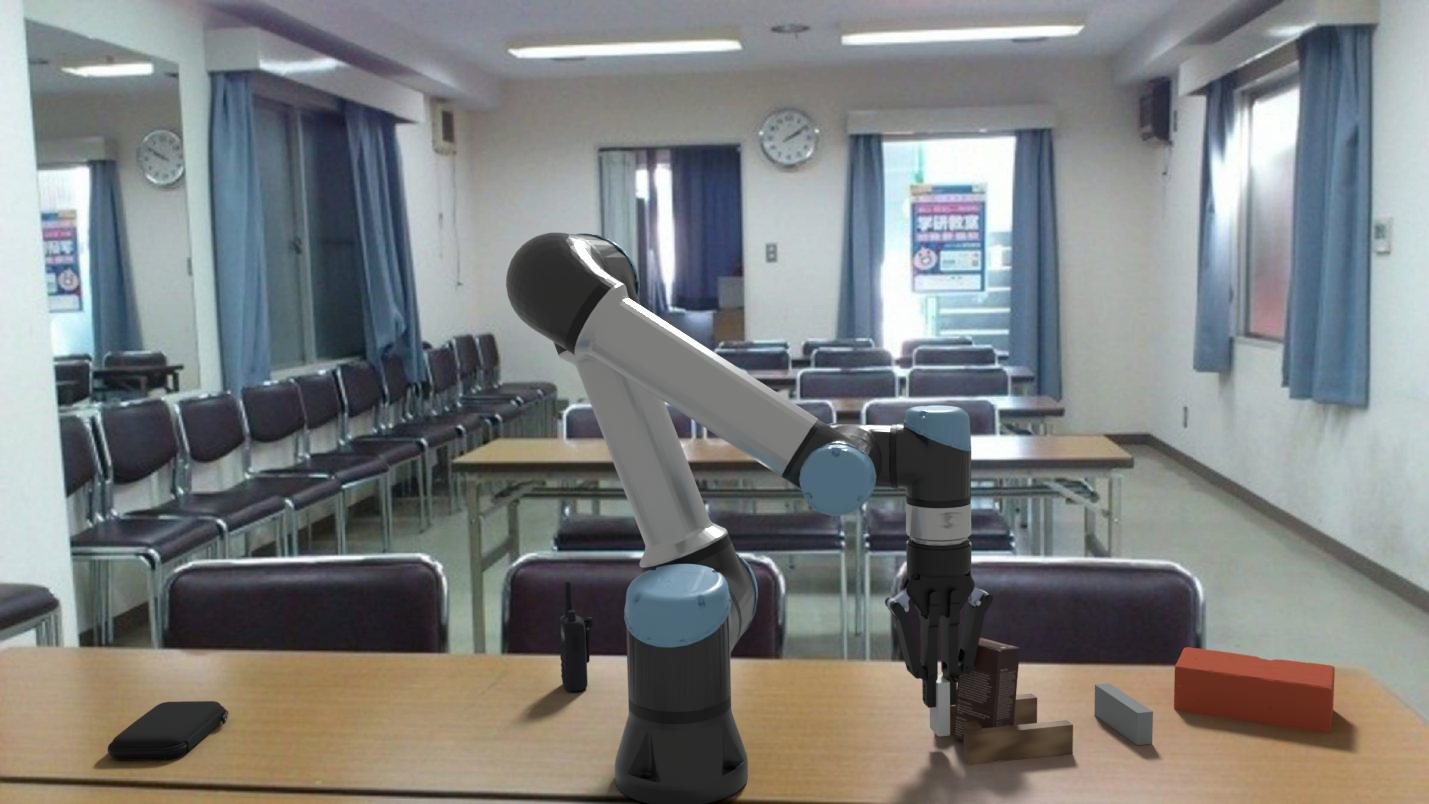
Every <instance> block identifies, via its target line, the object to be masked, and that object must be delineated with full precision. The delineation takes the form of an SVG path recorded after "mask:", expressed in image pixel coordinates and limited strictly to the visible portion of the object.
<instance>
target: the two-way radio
mask: <svg viewBox="0 0 1429 804" xmlns="http://www.w3.org/2000/svg"><path fill="white" fill-rule="evenodd" d="M564 610H565V611H564V614H563V615H562V616H560V618H559V630H560V631H559V633H560V644H559V647H560V649H559V650H560V662H561V663H560V671H561V673H560V675H561V682H562V685H563V687H564V688H565V690H566V691H568V692H570V691H574V692H581V690H582V691H583V690H585V689H586V688H588V681H589V680H588V663H590V661H591V660H590V657H591V656H590V655H591V654H590V638H591V637H590V636H591V631H592V627H593V626H594V621H593V620H594V619H593V617H592V616H587V617H586V619H584V618H583V617H581V616H579V615H576V611H575V609H573V596H572V583H571V581H570V579H569V580H565V582H564Z"/></svg>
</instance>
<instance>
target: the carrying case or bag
mask: <svg viewBox="0 0 1429 804" xmlns="http://www.w3.org/2000/svg"><path fill="white" fill-rule="evenodd" d="M229 715H230V714H229V710H228V709H226V708H225V707H224V706H222V704H221V703H219V702H218V701H216V700H215V701H214V700H202V701H199V700H198V701H197V700H195V701H194V700H192V701H191V700H190V701H164V702H161V703H159V704H156V705H155V706H154V707H153V708H151V709H150V710H149V711H147V712H146V713H144V714H143V715H142V716H140V717H139V718H138V719H136V720H135V721H134V722H132V723H131V724H129V726H127V727H126V728H125V729H124V730H122V731H121V732H120V733H118V734H117V735H116V736H115V737H114V738H113V739H112V741H111V742H110V743H109V744H108V746H107V753H108V755H109V756H110V757H113V759H115V760H116V761H170V760H175V759H178V758H180V757H182V756H183V755H185V754H186V753H187V752H189V750H191V748H193V747H194V746H195V745H196V744H198V743H199V742H200V741H201V740H202V739H203V738H204V737H205V736H206V735H207V734H209V733H210V732H212V730H213V729H214V728H215V727H218V726H217V725H219V724H220V723H222V725H225V724H226V722H227V720H228V718H229Z"/></svg>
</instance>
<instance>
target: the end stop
mask: <svg viewBox="0 0 1429 804" xmlns="http://www.w3.org/2000/svg"><path fill="white" fill-rule="evenodd" d="M1093 713H1094V716H1095V717H1096V718H1098V719H1099V720H1100V721H1102V722H1103V723H1105V724H1107V725H1108V726H1109V727H1111V728H1112V729H1113V730H1115V731H1117V732H1118V733H1119V734H1121V735H1122V736H1123V737H1124V738H1126V739H1127V740H1129V741H1130V742H1132V743H1133V744H1135V745H1136V746H1143V745H1151V744H1153V733H1154V732H1153V729H1154V727H1153V726H1154V723H1153V722H1154V720H1153V719H1154V712H1153V710H1151V709H1149V708H1148V707H1147V706H1146V705H1143V704H1142V703H1140V702H1139V701H1138V700H1136V699H1134V698H1133V697H1131V696H1130V695H1128V694H1126V693H1125V692H1124V691H1122V690H1121V689H1119V688H1117V687H1116V686H1114V685H1113V684H1111V683H1109V682H1107V683H1106V682H1105V683H1098V684H1094V712H1093Z"/></svg>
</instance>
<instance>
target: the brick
mask: <svg viewBox="0 0 1429 804" xmlns="http://www.w3.org/2000/svg"><path fill="white" fill-rule="evenodd" d="M1335 668H1336V667H1335V666H1333V665H1330V664H1320V663H1315V662H1314V663H1313V662H1304V661H1303V662H1302V661H1297V660H1287V659H1279V658H1277V659H1267V658H1263V657H1259V656H1255V655H1249V654H1242V653H1235V652H1229V651H1220V650H1214V649H1206V648H1205V649H1204V648H1196V647H1190V646H1188V647H1184V648H1183V649H1182V651H1181V654H1180V656H1179V658H1178V660H1177V662H1176V664H1175V665H1174V684H1173V685H1174V686H1173V687H1174V688H1173V690H1174V691H1173V692H1174V693H1173V694H1174V695H1173V708H1174V710H1177V711H1181V712H1188V713H1193V714H1194V713H1195V714H1202V715H1208V716H1213V717H1222V718H1226V719H1227V718H1228V719H1234V720H1240V721H1246V722H1253V723H1260V724H1266V725H1273V726H1279V727H1285V728H1290V729H1292V728H1293V729H1299V730H1303V731H1304V730H1305V731H1311V732H1316V733H1317V732H1318V733H1324V734H1331V733H1332V723H1333V714H1334V698H1335V673H1336V672H1335Z"/></svg>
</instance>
